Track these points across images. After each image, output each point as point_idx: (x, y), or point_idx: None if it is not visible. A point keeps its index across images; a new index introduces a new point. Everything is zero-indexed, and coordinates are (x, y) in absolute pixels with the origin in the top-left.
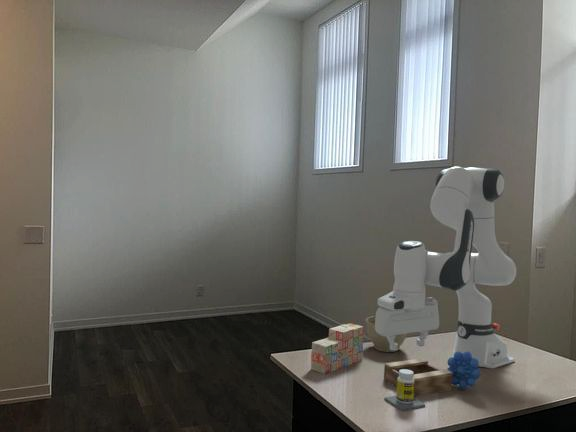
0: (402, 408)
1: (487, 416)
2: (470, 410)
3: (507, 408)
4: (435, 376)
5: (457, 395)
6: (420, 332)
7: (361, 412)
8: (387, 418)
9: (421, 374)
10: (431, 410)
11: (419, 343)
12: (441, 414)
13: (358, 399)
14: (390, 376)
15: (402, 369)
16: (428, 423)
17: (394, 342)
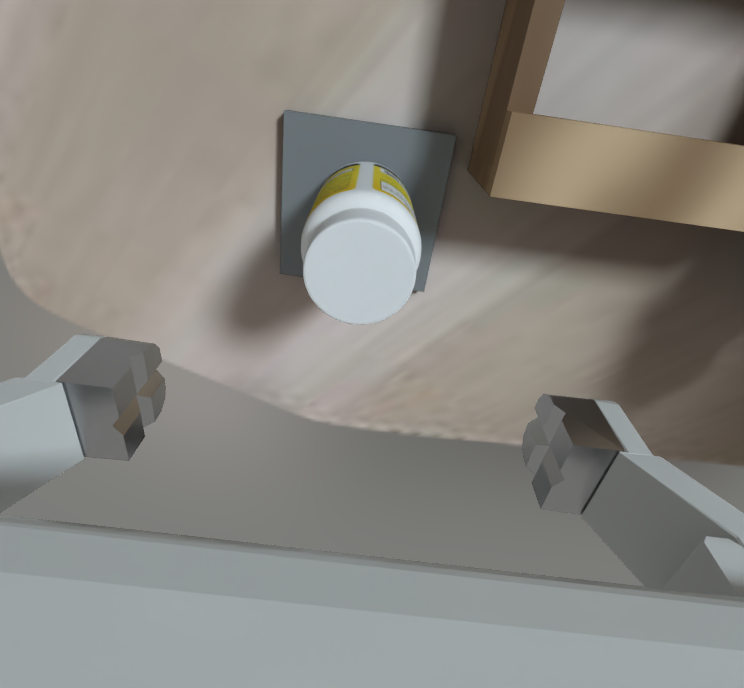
0: (284, 271)
1: None
2: None
3: (695, 446)
4: (685, 222)
5: (688, 276)
6: (690, 557)
7: (68, 180)
8: (169, 289)
9: (631, 154)
10: (414, 326)
11: (539, 454)
12: (419, 368)
13: (124, 12)
14: None
15: (367, 225)
16: (307, 391)
17: (41, 483)
